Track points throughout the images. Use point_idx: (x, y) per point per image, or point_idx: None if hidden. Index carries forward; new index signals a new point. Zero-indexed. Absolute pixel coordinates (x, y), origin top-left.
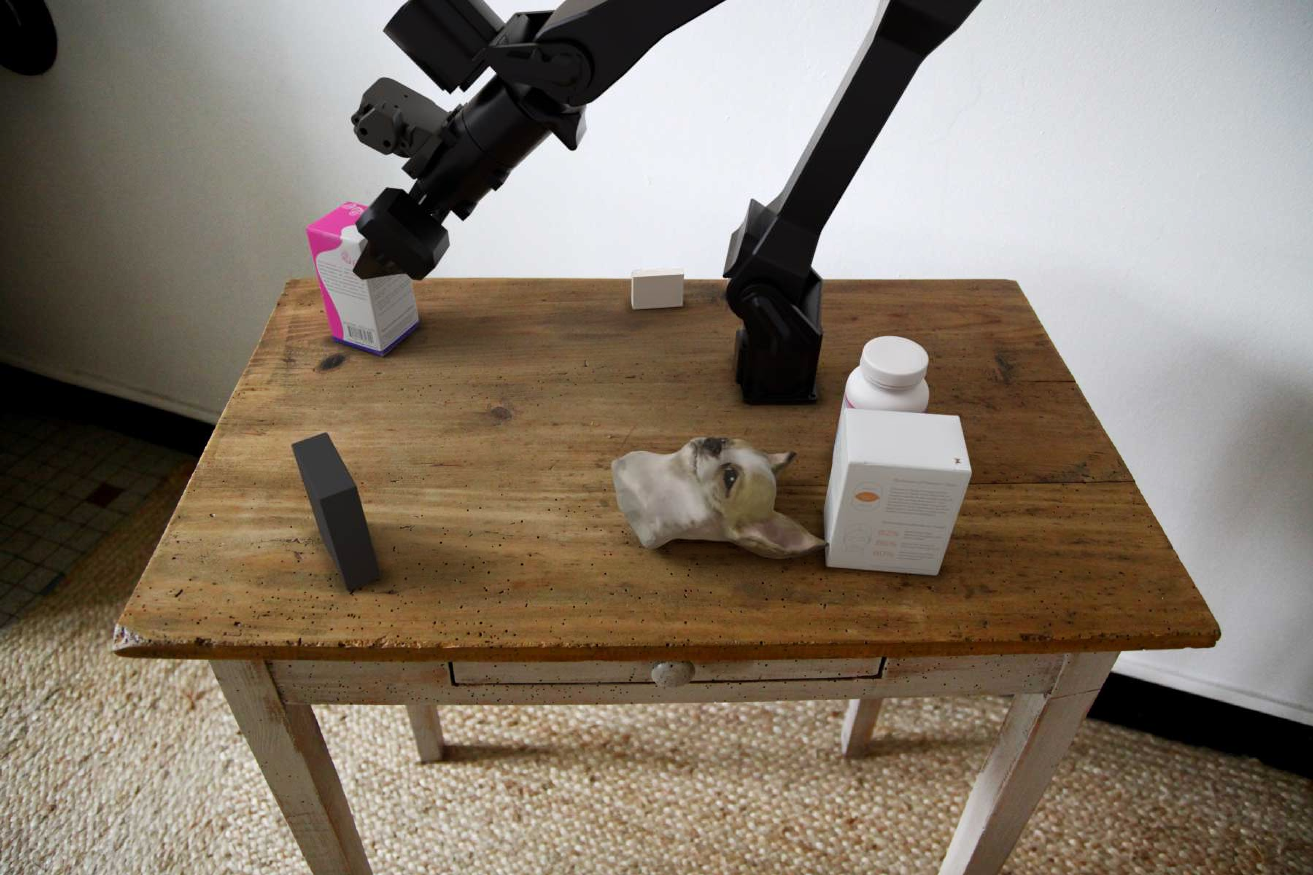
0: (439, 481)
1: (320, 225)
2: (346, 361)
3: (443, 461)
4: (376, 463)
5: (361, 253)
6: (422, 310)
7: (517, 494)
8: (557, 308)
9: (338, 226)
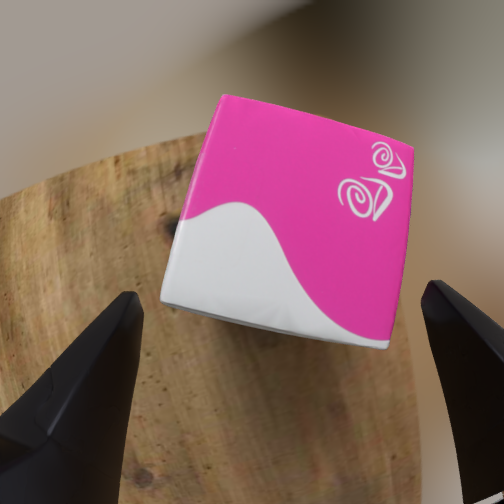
0: None
1: (244, 125)
2: None
3: None
4: (34, 362)
5: (62, 354)
6: None
7: None
8: (377, 478)
9: (250, 180)
